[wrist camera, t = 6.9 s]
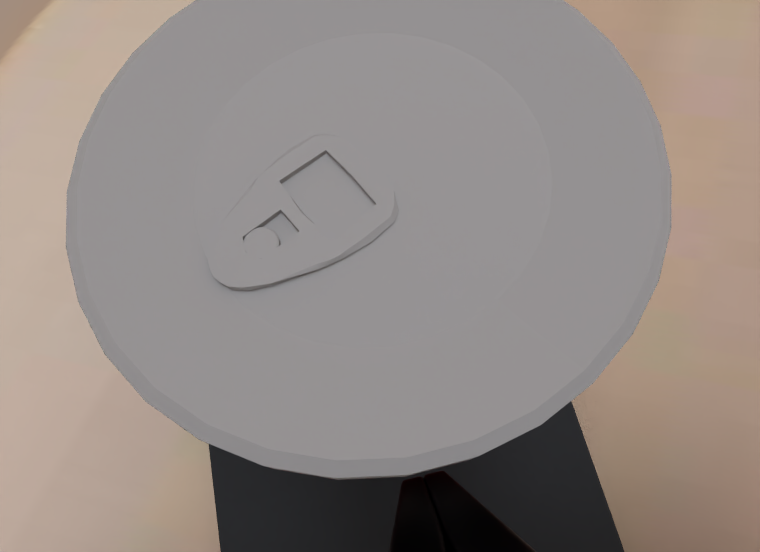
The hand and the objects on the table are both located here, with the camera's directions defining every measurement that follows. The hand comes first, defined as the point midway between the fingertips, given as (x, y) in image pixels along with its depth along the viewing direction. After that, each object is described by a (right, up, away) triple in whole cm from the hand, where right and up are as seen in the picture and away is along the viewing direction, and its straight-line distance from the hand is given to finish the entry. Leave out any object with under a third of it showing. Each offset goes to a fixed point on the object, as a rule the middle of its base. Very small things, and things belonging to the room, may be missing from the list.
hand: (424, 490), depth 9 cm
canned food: (-1, +2, +8) cm, 8 cm away
